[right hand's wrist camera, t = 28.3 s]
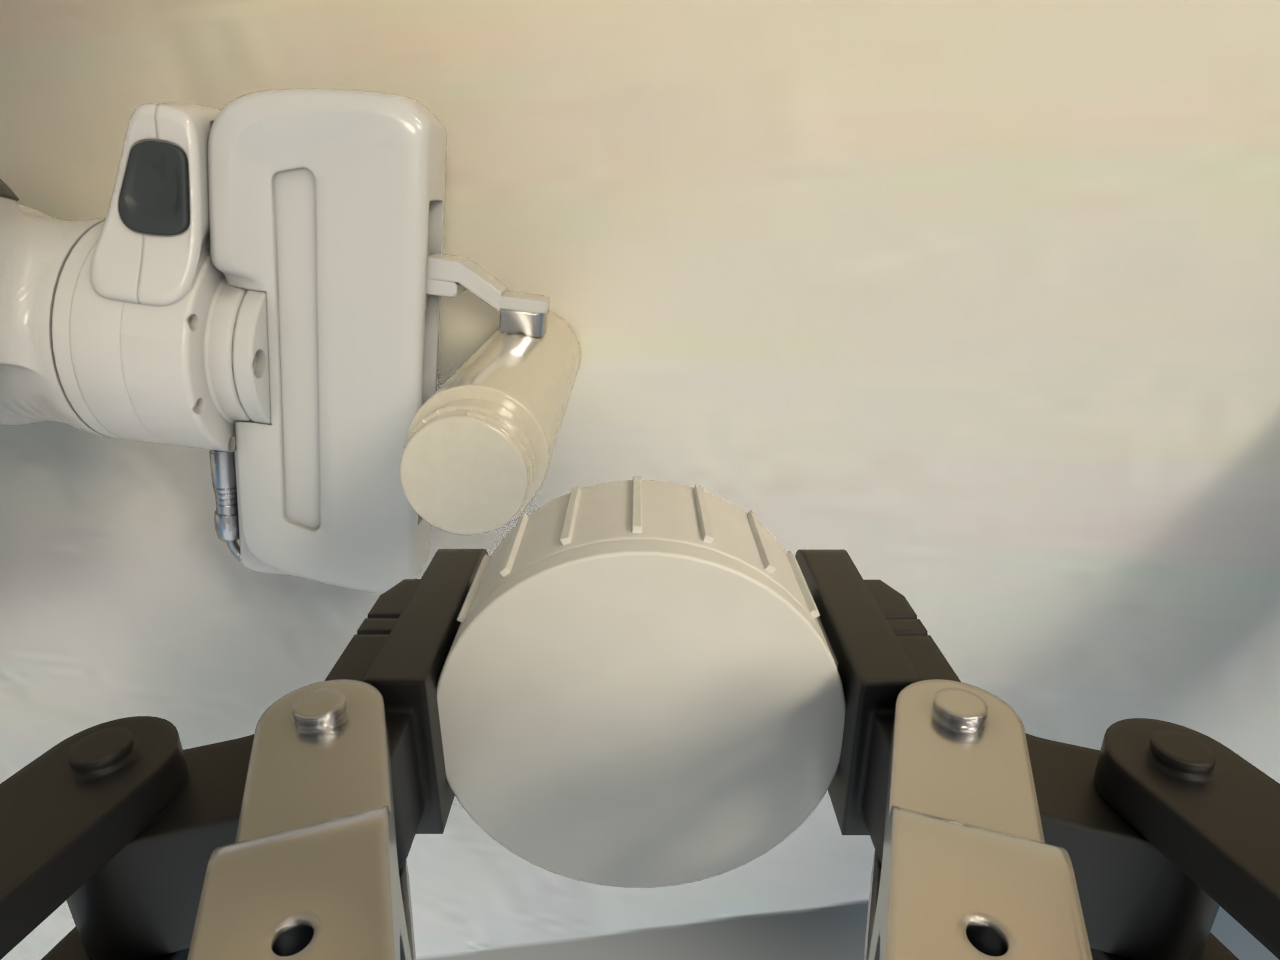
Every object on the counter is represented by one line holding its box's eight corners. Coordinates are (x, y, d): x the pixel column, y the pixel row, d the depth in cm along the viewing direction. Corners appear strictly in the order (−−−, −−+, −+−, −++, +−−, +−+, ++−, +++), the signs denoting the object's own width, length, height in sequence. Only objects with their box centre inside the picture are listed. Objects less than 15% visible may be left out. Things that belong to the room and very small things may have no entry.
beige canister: (570, 404, 38) (523, 563, 22) (486, 383, 38) (374, 529, 21) (589, 322, 37) (556, 425, 20) (503, 299, 36) (396, 385, 20)
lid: (886, 623, 11) (943, 724, 9) (651, 822, 12) (654, 950, 10) (625, 397, 10) (622, 454, 8) (397, 647, 11) (342, 752, 9)
